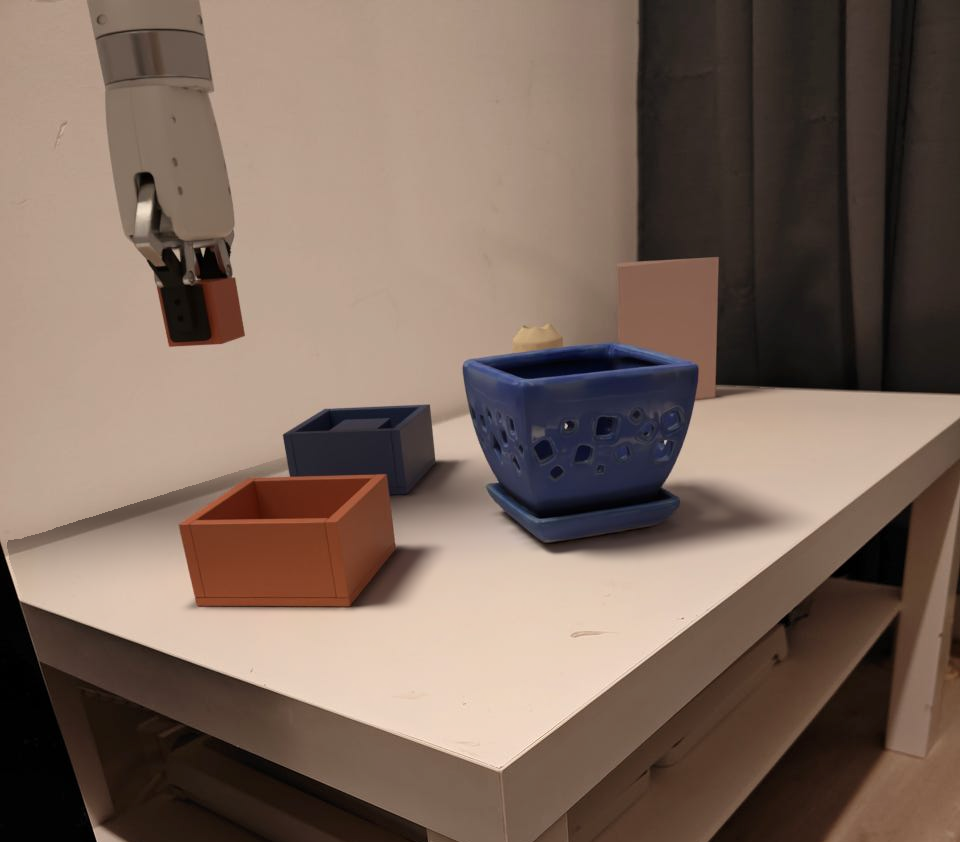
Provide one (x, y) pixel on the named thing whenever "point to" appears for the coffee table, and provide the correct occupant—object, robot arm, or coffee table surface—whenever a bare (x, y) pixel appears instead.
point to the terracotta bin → (290, 541)
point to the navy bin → (364, 445)
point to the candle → (536, 339)
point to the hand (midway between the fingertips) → (206, 333)
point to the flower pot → (582, 435)
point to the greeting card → (672, 311)
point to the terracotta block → (216, 312)
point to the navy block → (363, 424)
